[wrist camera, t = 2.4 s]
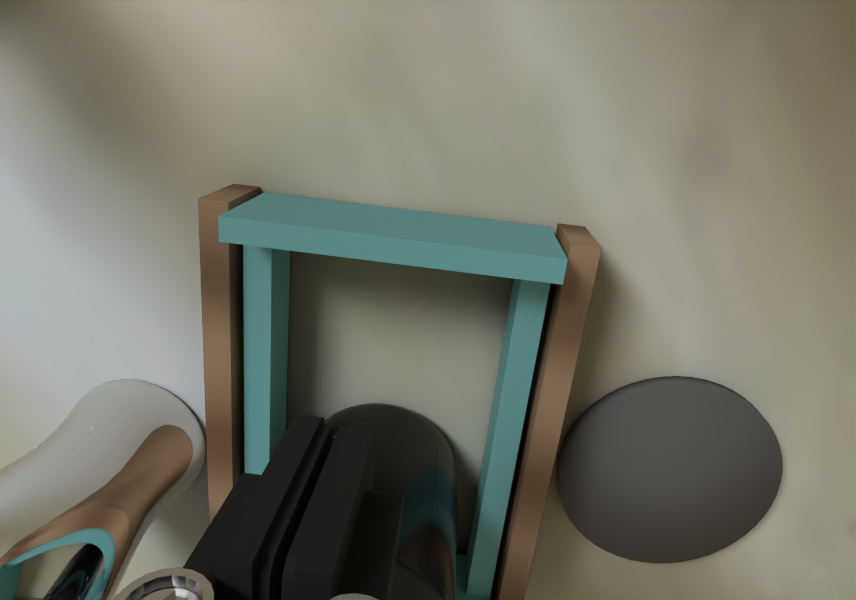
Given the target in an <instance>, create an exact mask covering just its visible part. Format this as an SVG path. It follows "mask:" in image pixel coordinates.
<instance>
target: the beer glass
mask: <svg viewBox="0 0 856 600" xmlns="http://www.w3.org/2000/svg"><path fill="white" fill-rule="evenodd" d="M205 456H206V442H205V437H204V434H203V431H202V428H201V426H200V424H199V422H198V420H197V419H196V417H195V416H194V414H193V413H192V412H191V410H190V409H189V408H188V407H187V406H186V405H185V404H184V403H183V402H182V401H181V400H180V399H178V398H177V397H176V396H174V395H173V394H171V393H170V392H168V391H167V390H165V389H163V388H161V387H159V386H156V385H154V384H151V383H147V382H144V381H139V380H130V379H122V380H114V381H109V382H106V383H103V384H101V385H99V386H96V387H95V388H93V389H91V390H90V391H89V392H87V393H86V394H85V395H84V396H83V397H82V398H81V399H80V401H79V402H78V403H77V404H76V406H75V407H74V408H73V410H72V411H71V412H70V414H69V415H68V416H67V418H66V419H65V420H64V421H63V423H62V424H61V425H60V426H59V427H58V428H57V429H56V430H55V431H54V432H53V433H52V434H51V435H50V436H49V437H48V438H47V439H46V440H45V441H43V442H42V443H41V444H40V445H38V446H35V448H34V449H33V450H31V451H30V452H29V453H27V454H26V455H24V456H22V457H21V458H19V459H17V460H16V461H14V462H12V463H10V464H9V465H7V466H5V467H4V468H2V469H0V600H113V598H114V596H115V594H116V592H117V590H118V588H119V586H120V583H121V581H122V579H123V577H124V575H125V573H126V570H127V568H128V566H129V564H130V562H131V560H132V558H133V556H134V554H135V552H136V550H137V548H138V546H139V544H140V542H141V540H142V538H143V536H144V535H145V533H146V532H147V530H148V528H149V527H150V525H151V524H152V523H153V521H154V520H155V519H156V518H157V516H158V515H159V514H160V513H161V512H162V511H163V510H164V509H165V508H166V507H167V506H168V505H169V504H170V503H171V502H172V501H173V500H175V499H176V498H177V497H178V496H179V495H180V494H181V493H182V492H183V491H185V490H186V489H187V488H188V487H189V486H190V485H191V484H192V483H193V481H194V480H195V479H196V478H197V476H198V475H199V473H200V472H201V469H202V467H203V464H204V461H205Z"/></svg>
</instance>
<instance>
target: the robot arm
mask: <svg viewBox="0 0 856 600" xmlns="http://www.w3.org/2000/svg"><path fill="white" fill-rule="evenodd" d="M377 435H378V425H377V424H370V423H362V422H355V421H351V423H350V425H349V428H346V427H340V428H339V430H338V432H337V435H336V437H335V440H334V442H333V444H332V440H333V426H331V425H325V421H324V418H323V417H318V416H310V415H303V414H296V415H295V417H294V418H293V420H292V422H291V424H290V425H289V427H288V429H287V431H286V432H285V434H284V436H283V438H282V440H281V441H280V443H279V445H278V447H277V448H276V450H275V452H274V454H273V455H272V457H271V459H270V461H269V462H268V464H267V466H266V468H265V469H264V471H263V473H262V475H259V474H251V473H244V474H242V475H241V476H240V477H239V479H238V480H237V482H236V483H235V485H234V487H233V488H232V490H231V491H230V493H229V495H228V496H227V498H226V499H225V501H224V503H223V504H222V506H221V507H220V509H219V511H218V512H217V514H216V515H215V517H214V519H213V520H212V522H211V524H210V525H209V527H208V528H207V530H206V532H205V533H204V535H203V536H202V538H201V540H200V541H199V543H198V544H197V546H196V548H195V549H194V551H193V552H192V554H191V556H190V557H189V559H188V560H187V562H186V564H185V565H184V567H183V568H169V569H161V570H158V571H155V572H151V573H148V574H146V575H144V576H142V577H140V578H138V579H136V580H135V581H133V582H131V583H130V584H129V585H128V586H127V587H125V588H124V589H123V590H122V591H121V592H120V593H119V594H118V595H117V596H116V597H115V598H114V599H113V600H390V597H391V591H392V585H393V579H394V573H395V567H396V560H397V554H398V546H399V539H400V531H401V523H402V514H403V506H404V495H402V494H395V493H388V492H381V491H373V490H372V489H373V478H374V468H375V457H376V446H377Z"/></svg>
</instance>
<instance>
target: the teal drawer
mask: <svg viewBox="0 0 856 600" xmlns="http://www.w3.org/2000/svg"><path fill="white" fill-rule="evenodd" d="M218 225H219V242H226V243H234V244H242V245H243V294H244V447H245V473H251V474H259V475H262V473H263V471H264V469H265V468H266V466H267V464H268V462H269V461H270V459H271V457H272V455H273V454H274V452H275V450H276V448H277V447H278V445H279V443H280V441H281V440H282V438H283V436H284V434H285V432H286V410H287V367H288V325H289V282H290V251H297V252H305V253H313V254H321V255H329V256H337V257H345V258H353V259H361V260H369V261H377V262H385V263H393V264H401V265H409V266H417V267H425V268H433V269H441V270H449V271H457V272H465V273H473V274H481V275H489V276H497V277H505V278H513V279H514V280H513V285H512V291H511V297H510V303H509V309H508V315H507V321H506V327H505V333H504V339H503V345H502V350H501V356H500V362H499V368H498V374H497V380H496V386H495V392H494V398H493V404H492V409H491V415H490V421H489V427H488V433H487V439H486V445H485V451H484V457H483V463H482V468H481V474H480V480H479V486H478V492H477V498H476V504H475V510H474V516H473V522H472V528H471V533H470V539H469V545H468V551H467V555H462V554H456V591H455V600H490V593H491V588H492V583H493V578H494V573H495V567H496V562H497V557H498V552H499V547H500V542H501V536H502V531H503V526H504V521H505V516H506V511H507V506H508V500H509V495H510V490H511V485H512V480H513V475H514V470H515V464H516V459H517V454H518V449H519V444H520V439H521V433H522V428H523V423H524V418H525V413H526V408H527V403H528V397H529V392H530V387H531V382H532V377H533V372H534V366H535V361H536V356H537V351H538V346H539V341H540V336H541V330H542V325H543V320H544V315H545V310H546V305H547V299H548V294H549V289H550V284H551V283H553V284H561V285H563V281H564V276H565V271H566V266H567V261H568V259H567V257H566V255H565V253H564V251H563V250H562V248H561V246H560V244H559V242H558V240H557V239H556V237H555V235H554V233H553V231H552V229H551V227H546V226H538V225H530V224H522V223H513V222H505V221H497V220H489V219H481V218H473V217H464V216H456V215H448V214H440V213H432V212H424V211H415V210H407V209H399V208H391V207H383V206H374V205H366V204H358V203H350V202H342V201H334V200H325V199H317V198H309V197H301V196H293V195H285V194H276V193H268V192H264V193H262V194H260V195H258V196H256V197H255V198H253V199H251V200H249V201H247V202H245V203H243V204H241V205H239V206H237V207H235V208H233V209H231V210H229V211H227V212H225V213H224V214H222V215H220V216H218Z"/></svg>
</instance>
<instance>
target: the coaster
mask: <svg viewBox="0 0 856 600" xmlns="http://www.w3.org/2000/svg"><path fill="white" fill-rule="evenodd" d="M781 476H782V455H781V450H780V446H779V443H778V440H777V438H776V435H775V433H774V432H773V430H772V428H771V426H770V425H769V423H768V422H767V421H766V420H765V419H764V417H763V416H762V415H761V414H760V413H759V412H758V410H757V409H756V408H755V407H754V406H753V405H752V404H751V403H750V402H748V401H747V400H746V399H745V398H744V397H742V396H741V395H739V394H738V393H736V392H735V391H733V390H731V389H729V388H727V387H725V386H723V385H720V384H717V383H714V382H711V381H708V380H704V379H698V378H693V377H681V376H671V377H658V378H651V379H646V380H642V381H638V382H635V383H631V384H629V385H626V386H624V387H621V388H619V389H617V390H615V391H613V392H611V393H609V394H607V395H605V396H604V397H602V398H601V399H600V400H598V401H597V402H595V403H594V404H593V405H591V406H590V407H589V408H588V409H587V410H586V411H585V412H584V413H583V414H582V415H581V416H580V417H579V418H578V419H577V420H576V422H575V423H574V424H573V426H572V427H571V429H570V430H569V432H568V433H567V435H566V437H565V439H564V442H563V444H562V446H561V450H560V453H559V456H558V463H557V481H558V487H559V492H560V497H561V500H562V503H563V506H564V509H565V511H566V513H567V515H568V517H569V519H570V520H571V521H572V523H573V524H574V526H575V527H576V528H577V529H578V530H579V531H580V532H581V533H582V534H583V535H584V536H585V537H586V538H587V539H588V540H590V541H591V542H592V543H594V544H595V545H597V546H598V547H600V548H602V549H604V550H605V551H608V552H610V553H612V554H615V555H617V556H620V557H623V558H627V559H630V560H635V561H640V562H650V563H673V562H682V561H687V560H692V559H697V558H700V557H703V556H706V555H710V554H712V553H714V552H717V551H719V550H721V549H724V548H725V547H727V546H729V545H731V544H732V543H734V542H736V541H737V540H739V539H740V538H741V537H743V536H744V535H746V534H747V533H748V532H749V531H750V530H751V529H752V528H754V527H755V526H756V525H757V524H758V522H759V521H760V520H761V519H762V518H763V517H764V516H765V514H766V513H767V511H768V510H769V508H770V507H771V505H772V503H773V501H774V499H775V497H776V495H777V492H778V489H779V486H780V482H781Z"/></svg>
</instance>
